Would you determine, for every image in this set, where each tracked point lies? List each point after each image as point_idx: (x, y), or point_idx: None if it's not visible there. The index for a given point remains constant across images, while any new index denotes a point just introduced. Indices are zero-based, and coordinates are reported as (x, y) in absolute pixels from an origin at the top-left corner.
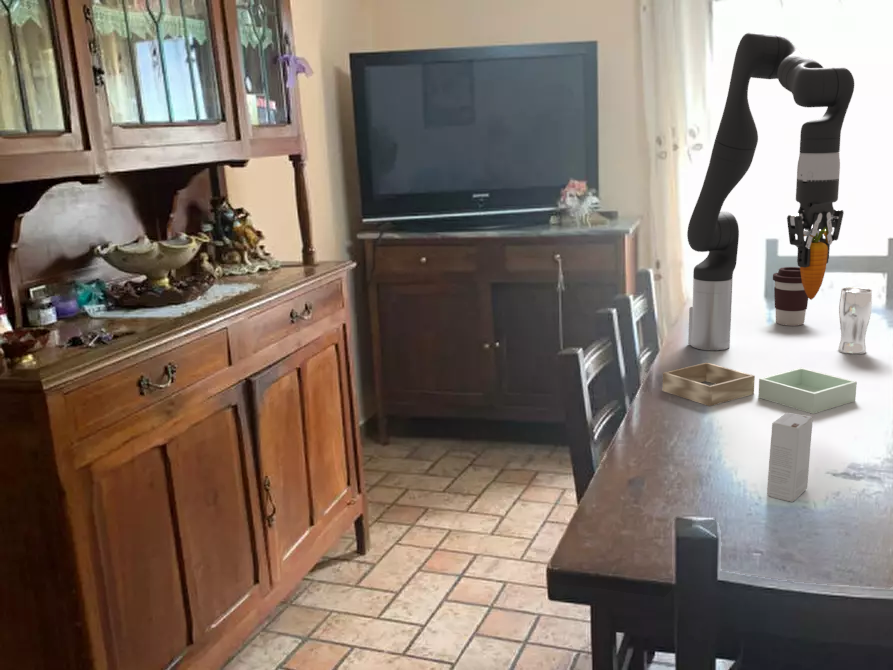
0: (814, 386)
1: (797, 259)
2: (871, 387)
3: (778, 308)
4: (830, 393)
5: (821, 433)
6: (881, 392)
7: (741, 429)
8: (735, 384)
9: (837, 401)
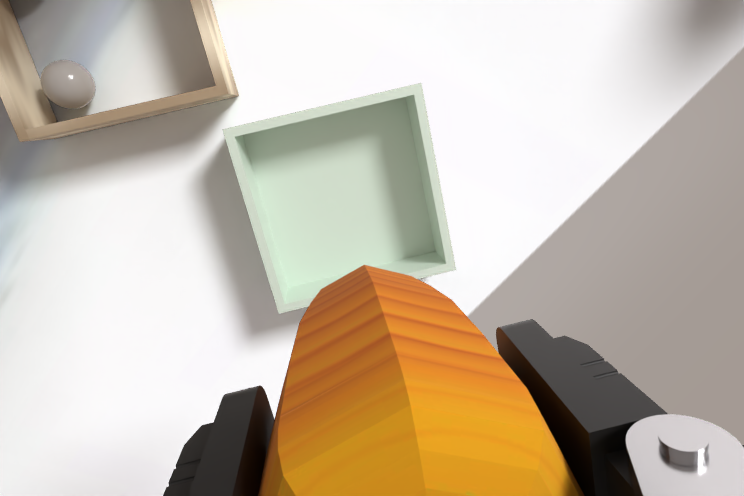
0: (415, 143)
1: (177, 464)
2: (564, 179)
3: None
4: None
5: (215, 402)
6: (550, 223)
7: (50, 323)
8: (143, 114)
9: None
